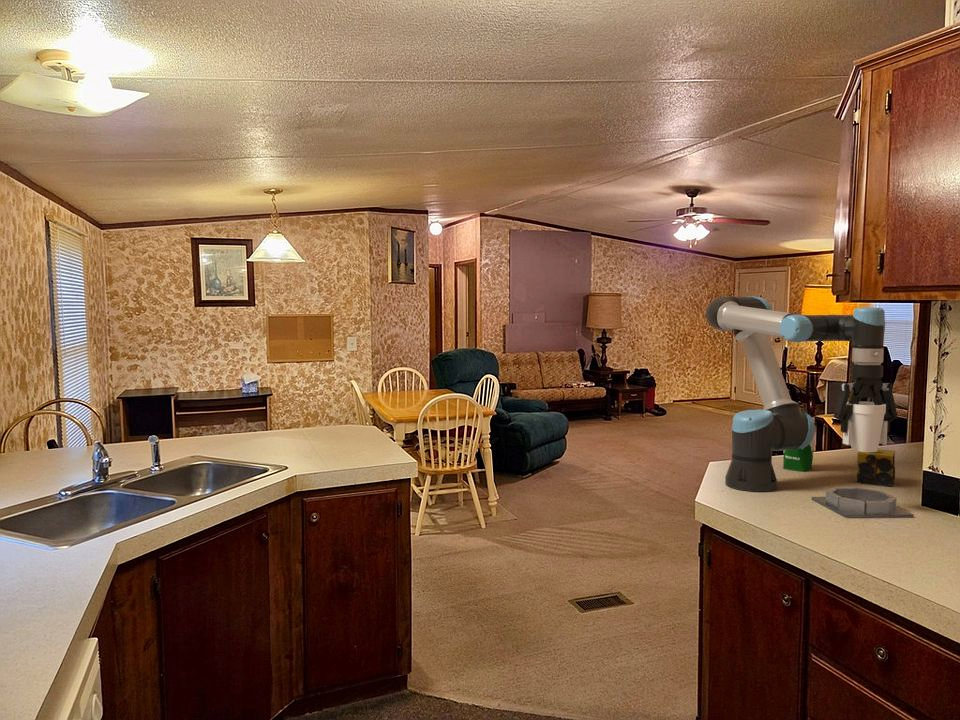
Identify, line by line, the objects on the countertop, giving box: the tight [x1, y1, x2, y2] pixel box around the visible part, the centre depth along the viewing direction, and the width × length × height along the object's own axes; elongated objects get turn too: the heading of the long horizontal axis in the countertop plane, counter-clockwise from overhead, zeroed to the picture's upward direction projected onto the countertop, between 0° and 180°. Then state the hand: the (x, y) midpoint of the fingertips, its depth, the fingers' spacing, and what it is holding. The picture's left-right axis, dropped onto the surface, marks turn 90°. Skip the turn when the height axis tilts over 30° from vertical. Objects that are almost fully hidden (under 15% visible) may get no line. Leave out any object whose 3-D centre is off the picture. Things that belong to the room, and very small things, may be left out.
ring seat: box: [811, 486, 915, 519], centre depth 188 cm, size 18×18×4 cm
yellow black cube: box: [856, 448, 896, 488], centre depth 217 cm, size 10×10×10 cm
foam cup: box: [847, 400, 886, 452], centre depth 188 cm, size 10×9×13 cm
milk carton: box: [782, 409, 816, 473], centre depth 235 cm, size 9×9×20 cm
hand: (864, 444), depth 189 cm, fingers closed on foam cup, 9 cm apart
